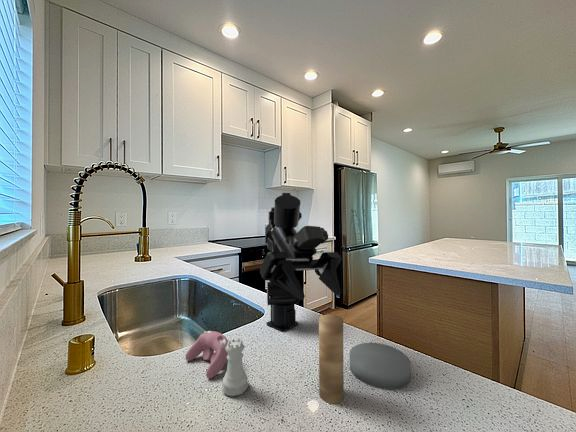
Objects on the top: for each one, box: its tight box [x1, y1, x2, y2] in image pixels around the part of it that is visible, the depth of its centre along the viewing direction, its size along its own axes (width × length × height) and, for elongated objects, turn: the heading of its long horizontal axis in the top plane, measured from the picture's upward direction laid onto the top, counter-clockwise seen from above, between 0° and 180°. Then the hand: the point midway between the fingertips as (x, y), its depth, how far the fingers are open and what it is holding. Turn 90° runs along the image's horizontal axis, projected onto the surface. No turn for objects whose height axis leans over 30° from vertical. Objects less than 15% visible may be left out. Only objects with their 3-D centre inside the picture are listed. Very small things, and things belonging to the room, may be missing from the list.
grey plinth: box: [349, 342, 412, 390], centre depth 49 cm, size 11×11×2 cm
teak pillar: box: [318, 314, 345, 404], centre depth 42 cm, size 4×4×12 cm
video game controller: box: [185, 330, 229, 379], centre depth 51 cm, size 10×5×7 cm, turn 47°
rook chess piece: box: [221, 338, 249, 397], centre depth 43 cm, size 4×4×8 cm
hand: (322, 296), depth 49 cm, fingers open, 9 cm apart
